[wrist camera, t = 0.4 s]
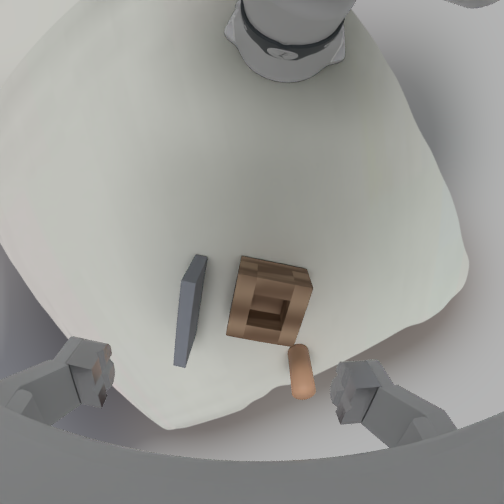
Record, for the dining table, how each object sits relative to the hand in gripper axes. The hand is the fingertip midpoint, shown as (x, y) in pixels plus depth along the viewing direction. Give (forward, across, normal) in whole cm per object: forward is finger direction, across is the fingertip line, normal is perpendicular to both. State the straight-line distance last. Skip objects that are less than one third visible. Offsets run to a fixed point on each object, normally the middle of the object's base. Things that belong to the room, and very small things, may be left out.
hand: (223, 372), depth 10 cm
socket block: (+39, -7, +15) cm, 42 cm away
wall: (+40, +5, +18) cm, 44 cm away
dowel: (+39, -15, +28) cm, 50 cm away
